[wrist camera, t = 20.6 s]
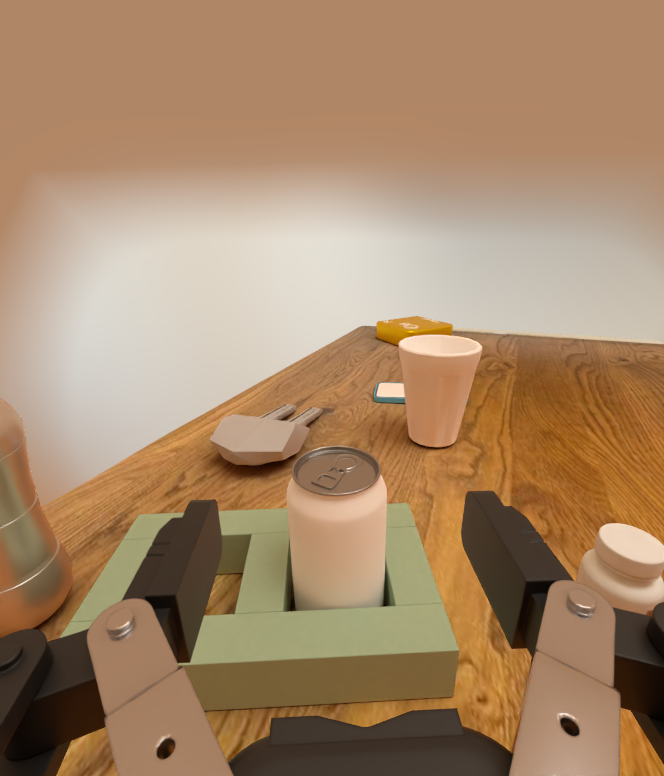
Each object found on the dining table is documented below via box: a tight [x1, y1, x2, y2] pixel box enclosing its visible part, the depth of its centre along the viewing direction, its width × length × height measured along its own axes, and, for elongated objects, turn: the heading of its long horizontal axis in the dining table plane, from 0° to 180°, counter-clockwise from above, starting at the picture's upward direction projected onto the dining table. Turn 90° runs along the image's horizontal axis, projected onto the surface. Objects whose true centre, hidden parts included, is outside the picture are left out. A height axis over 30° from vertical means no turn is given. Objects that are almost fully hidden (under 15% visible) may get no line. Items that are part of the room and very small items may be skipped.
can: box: [287, 446, 387, 611], centre depth 27 cm, size 6×6×12 cm
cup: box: [399, 335, 482, 447], centre depth 50 cm, size 10×10×13 cm
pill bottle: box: [576, 523, 664, 616], centre depth 25 cm, size 4×4×8 cm
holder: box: [60, 503, 459, 711], centre depth 28 cm, size 13×23×4 cm, turn 92°
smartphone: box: [374, 382, 468, 404], centre depth 67 cm, size 8×1×15 cm
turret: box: [210, 404, 322, 466], centre depth 52 cm, size 10×20×5 cm, turn 161°
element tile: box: [376, 316, 453, 346], centre depth 103 cm, size 15×15×5 cm
